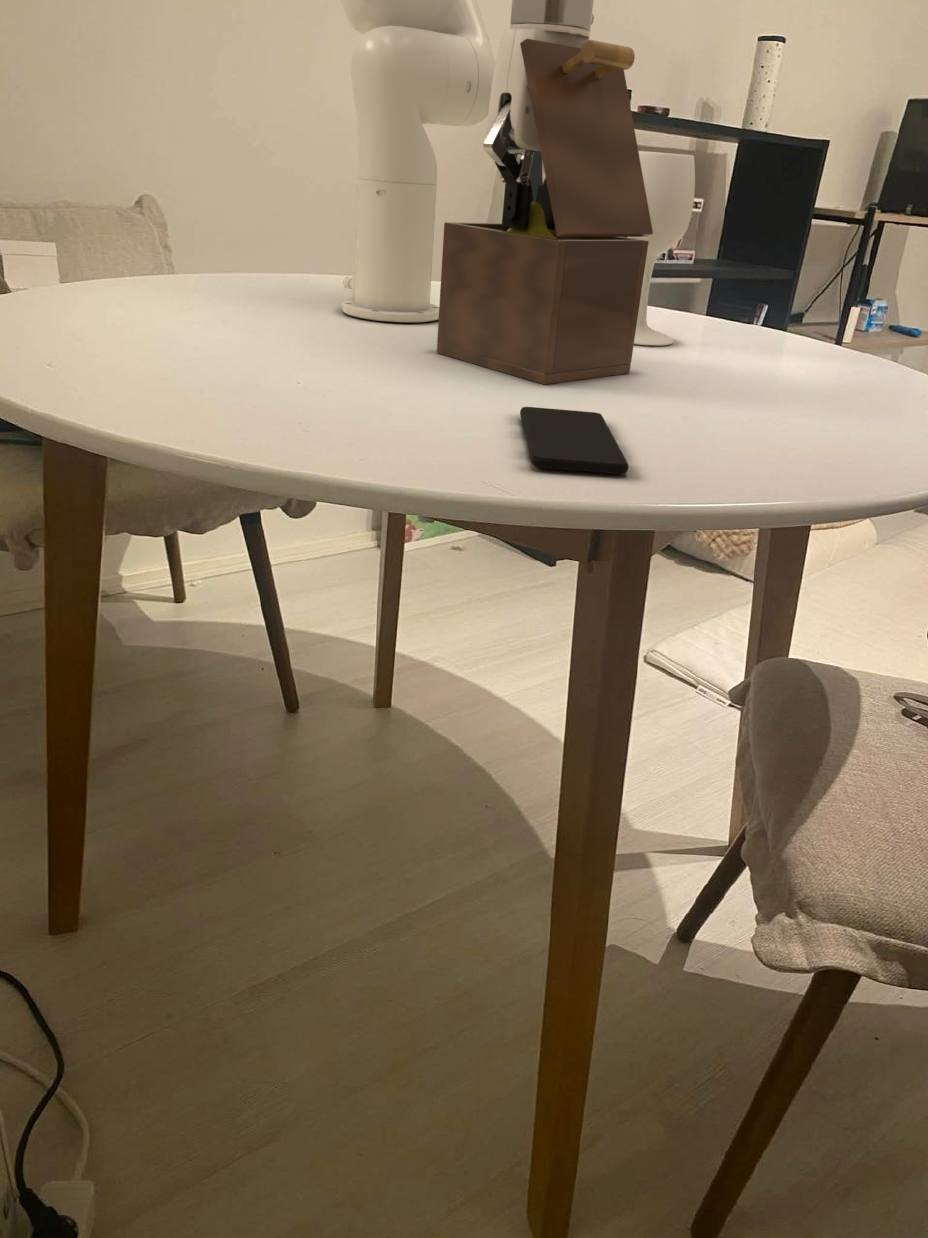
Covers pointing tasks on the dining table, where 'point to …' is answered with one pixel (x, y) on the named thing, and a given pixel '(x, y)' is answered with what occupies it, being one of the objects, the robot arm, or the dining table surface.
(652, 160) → the wineglass
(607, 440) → the smartphone
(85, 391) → the dining table surface
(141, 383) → the dining table surface
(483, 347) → the chest
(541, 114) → the lid
